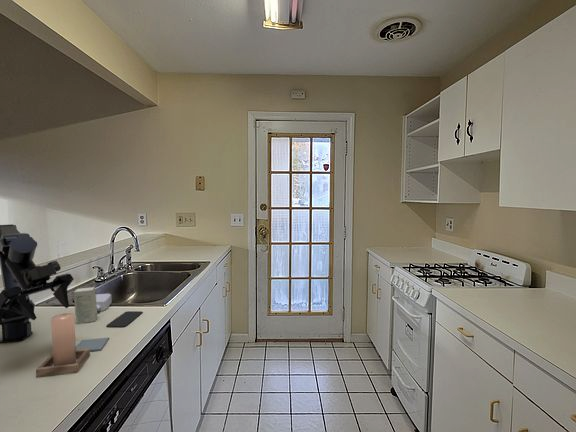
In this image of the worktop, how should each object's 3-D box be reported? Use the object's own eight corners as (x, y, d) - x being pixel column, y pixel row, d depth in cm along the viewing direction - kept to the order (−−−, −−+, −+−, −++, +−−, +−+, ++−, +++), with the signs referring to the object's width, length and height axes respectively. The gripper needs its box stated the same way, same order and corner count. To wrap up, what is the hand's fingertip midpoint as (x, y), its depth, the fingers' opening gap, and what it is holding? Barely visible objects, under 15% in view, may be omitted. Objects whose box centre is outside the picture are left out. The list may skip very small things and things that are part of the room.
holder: (36, 377, 83) (35, 369, 82) (53, 359, 92) (53, 352, 92) (77, 372, 85) (77, 365, 85) (90, 355, 94) (90, 348, 94)
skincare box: (97, 317, 123) (96, 286, 122) (94, 321, 119) (93, 289, 118) (78, 319, 121) (77, 288, 120) (74, 324, 117) (73, 291, 116)
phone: (144, 311, 129) (125, 326, 114) (144, 313, 129) (125, 328, 114) (125, 311, 129) (104, 326, 114) (125, 313, 129) (104, 328, 114)
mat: (71, 353, 95) (71, 351, 95) (81, 341, 103) (81, 339, 103) (101, 350, 97) (101, 348, 97) (109, 339, 105) (109, 337, 104)
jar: (49, 371, 85) (47, 320, 84) (58, 361, 90) (56, 313, 89) (71, 369, 86) (69, 319, 86) (79, 359, 91) (77, 312, 91)
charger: (75, 318, 122) (87, 305, 136) (102, 316, 125) (111, 303, 139) (74, 306, 122) (87, 295, 136) (101, 304, 125) (111, 293, 139)
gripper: (-1, 260, 83) (30, 309, 80) (69, 248, 100) (95, 287, 98) (-19, 285, 86) (10, 332, 83) (51, 269, 103) (77, 307, 101)
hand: (52, 313), depth 91 cm, fingers open, 9 cm apart
